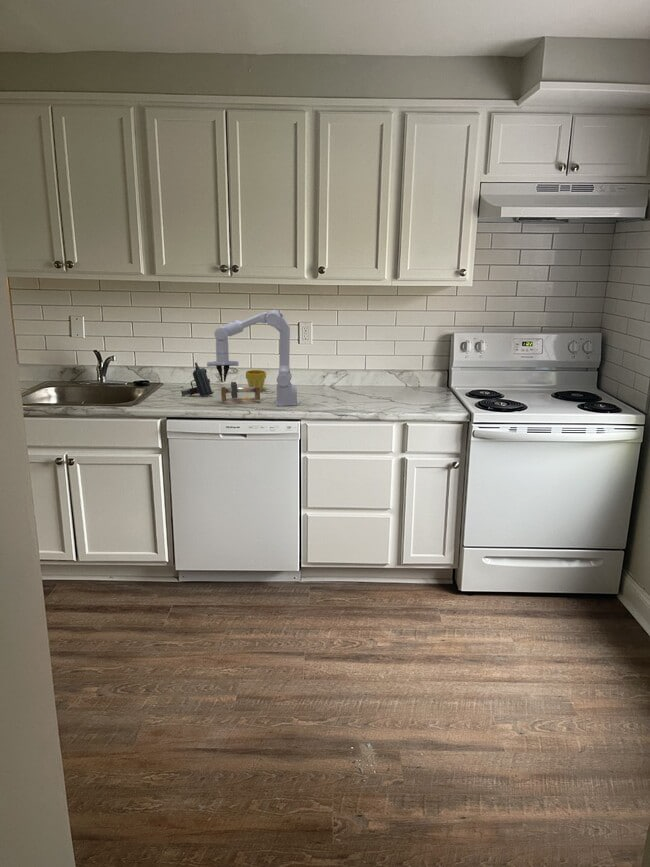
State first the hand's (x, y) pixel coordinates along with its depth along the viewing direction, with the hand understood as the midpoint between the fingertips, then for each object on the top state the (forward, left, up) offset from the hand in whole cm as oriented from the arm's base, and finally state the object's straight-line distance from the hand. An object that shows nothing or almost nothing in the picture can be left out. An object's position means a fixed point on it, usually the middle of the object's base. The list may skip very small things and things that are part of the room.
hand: (223, 381), depth 301 cm
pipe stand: (-8, 0, -10) cm, 13 cm away
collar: (-5, 0, -8) cm, 9 cm away
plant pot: (-18, -23, -11) cm, 31 cm away
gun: (+12, -15, -11) cm, 22 cm away
